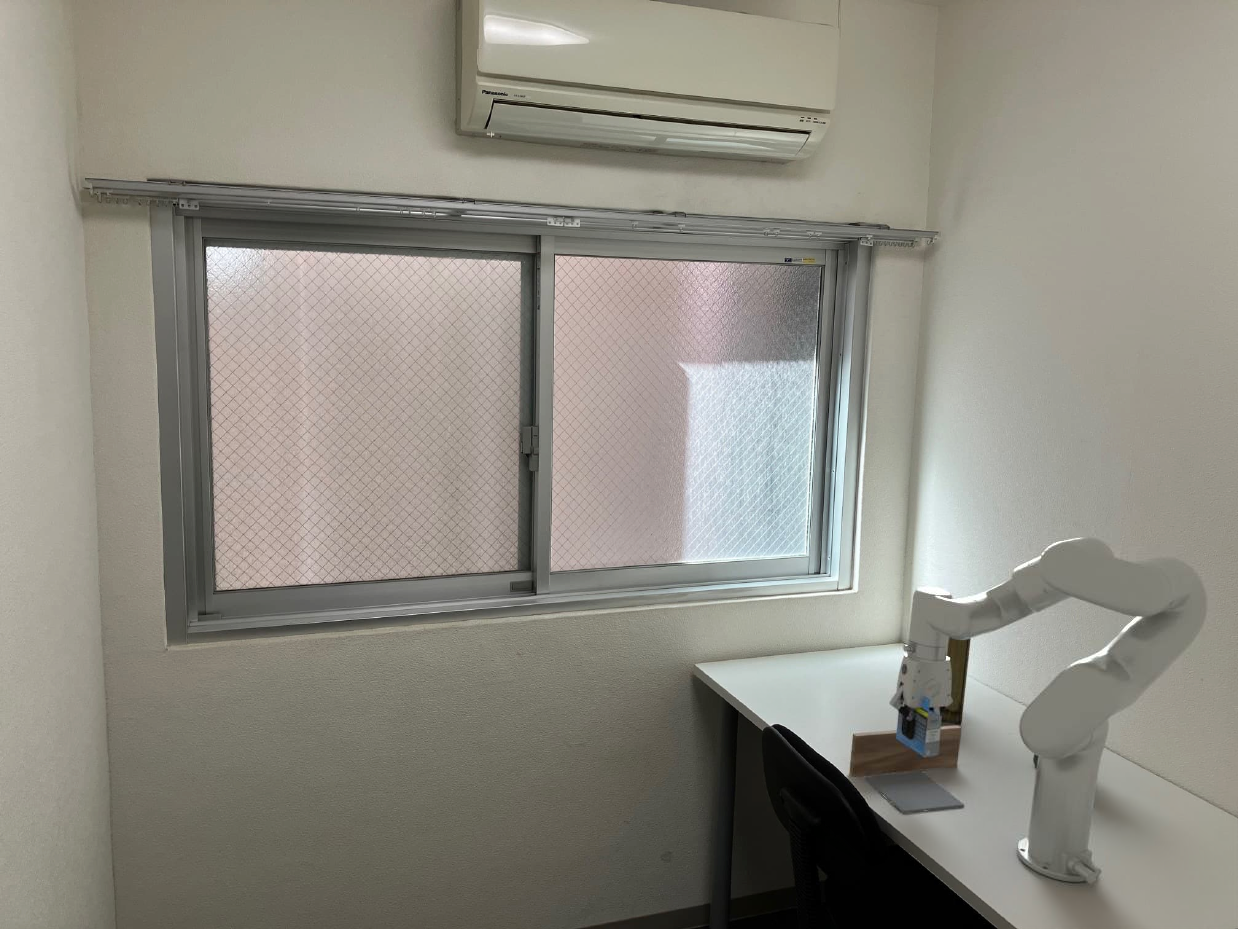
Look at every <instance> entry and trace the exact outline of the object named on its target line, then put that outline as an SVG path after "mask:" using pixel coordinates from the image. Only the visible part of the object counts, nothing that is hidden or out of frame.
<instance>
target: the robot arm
mask: <svg viewBox="0 0 1238 929" xmlns="http://www.w3.org/2000/svg"><path fill="white" fill-rule="evenodd" d="M1070 598H1075V599H1076V600H1080V601H1083V602H1085V603H1088V604H1091V605H1095V606H1098V607H1100V608H1104V609H1106V610H1110V611H1113V612H1116V613H1119V614H1121V615H1125V616H1129V617H1134V618H1133V619H1132V621H1130V622H1129V623H1128V624H1127V625H1126V626H1125V627H1123V628H1122V630H1120V632H1119V633H1118V635H1116V636H1115V638H1113V639H1112V640H1111V641H1110V642H1109V643H1108V644H1107V645H1106V646H1105V647H1104V648H1103V649H1101V650H1100V651H1098V652H1096V653H1095V654H1092V655H1091V654H1090V656H1087V657H1084V658H1081V659H1079V660H1077V661H1075V662H1072V663H1070V665H1068V666H1067V667H1065V668H1064V669H1063V670H1062V671H1061V672H1059V674H1058V675H1056V676H1055V678H1054V679H1053V680H1051V681H1050V683H1049V684H1048V685H1047V686H1046V687H1045V688H1044V689H1043V690H1042V691H1041V692H1040V693H1039V694H1038V695H1037V696H1035V698H1034V699H1033V700H1032V701H1031V702H1030V703H1029V704H1028V706H1026V708H1025V709H1024V710H1023V712H1022V714H1021V716H1020V719H1019V724H1018V725H1019V727H1018V728H1019V735H1020V738H1021V741H1022V742H1023V744H1024V745H1025V747H1026V748H1027V749H1028V750H1029V751H1030V752H1031V753H1032V754H1033V755H1034V754H1035V755H1037V756H1038V762H1037V767H1036V770H1035V779H1034V787H1033V794H1032V803H1031V810H1030V811H1031V812H1030V818H1029V827H1028V835H1027V837H1025V838H1022V839H1021V840H1019V841H1018V843H1017V844H1016V845H1017V846H1016V854H1017V856H1018V858H1019V859H1020V860H1021V861H1022V862H1023V863H1024V864H1025V865H1026V866H1027V867H1028V868H1030V869H1031V870H1033V871H1035V872H1037V873H1039V874H1040V875H1041V874H1042V875H1043V876H1046V877H1048V878H1051V879H1055V880H1058V881H1062V882H1063V881H1064V882H1071V883H1080V882H1082V883H1083V882H1087V884H1093V883H1095V882H1096V880H1097V877H1099V876H1101V874H1102V869H1101V868H1099V867H1098V866H1097V865H1096V864H1095V862H1094V859H1092V857H1093V851H1092V850H1090V849H1089V842H1090V841H1089V840H1090V835H1091V834H1090V832H1091V825H1092V818H1093V812H1094V804H1095V796H1096V789H1097V783H1098V782H1097V781H1098V778H1099V777H1098V776H1099V770H1100V763H1101V759H1102V755H1103V752H1104V749H1105V745H1106V742H1107V738H1108V735H1109V734H1108V733H1109V724H1110V723H1109V719H1110V718H1112V717H1113V716H1114V715H1116V714H1118V713H1119V712H1120V713H1121V711H1124V710H1126V709H1127V708H1130V707H1131V706H1132V705H1134V704H1135V703H1136V702H1137V701H1138V700H1139V699H1140V698H1141V696H1142V695H1143V694H1144V693H1146V691H1147V690H1148V689H1149V688H1150V687H1151V686H1152V685H1153V684H1154V683H1155V682H1156V681H1157V680H1158V679H1160V677H1162V675H1164V673H1166V671H1167V670H1168V669H1169V668H1170V667H1171V666H1172V665H1173V664H1174V663H1175V662H1176V661H1177V660H1178V659H1179V658H1180V657H1181V655H1183V654H1184V652H1186V650H1188V648H1189V647H1191V645H1192V644H1193V642H1194V641H1195V640H1196V638H1197V637H1198V636H1199V634H1200V632H1201V630H1202V629H1203V626H1204V624H1205V622H1206V618H1207V612H1208V597H1207V592H1206V589H1205V585H1204V584H1203V581H1202V579H1201V577H1200V576H1199V574H1198V572H1197V571H1196V570H1195V569H1194V568H1193V567H1192V566H1191V565H1190V564H1188V563H1187V562H1185V561H1183V560H1181V559H1179V558H1177V557H1176V558H1175V557H1170V556H1154V557H1149V558H1146V559H1142V560H1138V561H1135V562H1134V561H1129V560H1125V559H1122V558H1119V557H1116V556H1115V553H1114V552H1113V550H1112V549H1111V547H1110V546H1109V545H1108V544H1106V543H1105V542H1104V541H1102V540H1100V539H1098V538H1096V537H1095V538H1094V537H1090V536H1089V537H1088V536H1082V537H1077V538H1076V537H1075V538H1070V539H1065V540H1062V541H1057V542H1055V543H1052V544H1051V545H1049V546H1048V547H1047V548H1046V549H1044V551H1043V552H1042V554H1041V555H1040V556H1039V557H1036V558H1034V559H1032V560H1029V561H1027V562H1026V563H1023V564H1021V565H1019V566H1017V567H1016V568H1014V569H1013V571H1012V573H1011V578H1009V579H1007V580H1006V581H1004V582H1002V583H1001V584H998V585H996V586H995V587H992V588H990V589H988V590H986V591H984V592H980V593H979V594H974V595H972V596H967V597H963V598H957V599H956V598H955V599H954V598H953V596H952V594H951V593H950V592H949V591H947V590H945V589H942V588H938V587H934V586H932V587H930V586H925V587H924V586H923V587H918V588H917V589H915V591H914V593H913V596H912V602H911V603H912V604H911V613H910V623H909V633H908V640H907V644H904V645H903V648H902V650H903V651H904V652H906V653H904V654H903V658H902V661H901V663H900V668H899V672H898V676H897V677H898V678H897V681H896V682H897V683H896V689H895V690H896V691H895V694H893V696H892V698H891V699H890V701H889V705H890V706H892V707H893V708H894V709H895V710H897V712H899V713H900V714H901V715H902V716H903V718H902V727H901V731H902V734H903V735H904V736H906V737H907V738H908V739H910V740H911V739H913V737H914V728H915V721H914V720H913V717H914V714H915V710H916V708H922V707H923V702H924V697H927V698H929V699H930V705H929V709H930V710H932V711H933V712H935V713H937V714H938V715H940V714H941V713H942V712H943V711H944V710H945V707H947V706H949V705H950V704H951V703H952V702H953V699H952V697H951V684H952V673H951V663H950V658H949V657H947V649H948V641H949V637H951V638H953V639H957V640H966V639H970V638H971V639H972V638H976V637H979V636H982V635H985V634H989V633H993V632H995V631H998V630H1000V629H1002V628H1004V627H1007V626H1009V625H1011V624H1013V623H1016V622H1018V621H1021V620H1023V619H1025V618H1027V617H1028V616H1031V615H1033V614H1035V613H1040V612H1041V611H1043V610H1045V609H1048V608H1050V607H1052V606H1054V605H1056V604H1057V605H1058V604H1059V603H1061V602H1064V601H1065V600H1068V599H1070ZM901 701H903V705H901V704H900V702H901ZM908 708H909V710H908Z"/></svg>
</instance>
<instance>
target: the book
mask: <svg viewBox="0 0 1238 929" xmlns="http://www.w3.org/2000/svg"><path fill="white" fill-rule="evenodd" d="M971 639H972V638H970V639H966V640H957V639H953V638H951V637H949V641H948V649H947V657H949V658H950V663H951V673H952V684H951V697H952V699H953V702H952V703H951V704H950V705H949V706H947V707H945V710H944V711H943V712H942V713H941V714H940V716H942V719H941V723H943V722H945V723H953V724H955V725H958V726H962V722H963V715H964V714H963V713H964V707H965V706H964V703H965V695H966V687H967V676H968V667H969V659H970V658H969V657H970V649H971V648H970V647H971V641H972V640H971Z"/></svg>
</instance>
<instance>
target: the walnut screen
mask: <svg viewBox="0 0 1238 929" xmlns="http://www.w3.org/2000/svg"><path fill="white" fill-rule="evenodd" d="M896 733H897V729H896V730H884V731H869V732H857V733H856V732H855V733H852V740H851V741H852V743H851V751H850V762H849V771H848V772H849V773H848V774H849V775H850V776H851V777H861V776H874V775H885V774H893V773H892V772H894V773H906V772H916V771H924V770H936V769H944V768H954V767H955V768H957V767H958V763H959V755H960V754H959V752H960V746H961V744H960V743H961V734H962V727H961V725H958V724H955V725H944V726H941V730H940V741H939V753H938V755H936V756H932V757H923V756H922V755H920V754H919V753H917V752H916V751H914V750H913V749H911V748H910V747H908V746H906V745H905V744H903V743H902V742H900V741H899V740H897V739H896Z"/></svg>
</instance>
